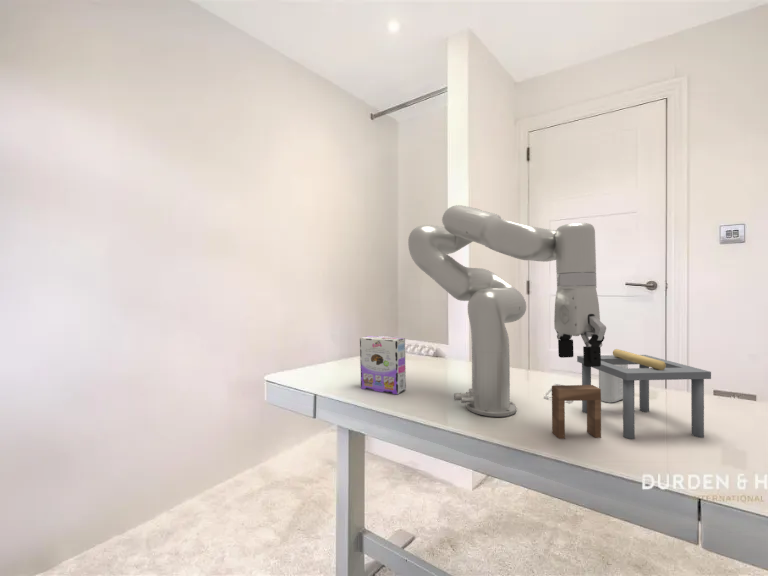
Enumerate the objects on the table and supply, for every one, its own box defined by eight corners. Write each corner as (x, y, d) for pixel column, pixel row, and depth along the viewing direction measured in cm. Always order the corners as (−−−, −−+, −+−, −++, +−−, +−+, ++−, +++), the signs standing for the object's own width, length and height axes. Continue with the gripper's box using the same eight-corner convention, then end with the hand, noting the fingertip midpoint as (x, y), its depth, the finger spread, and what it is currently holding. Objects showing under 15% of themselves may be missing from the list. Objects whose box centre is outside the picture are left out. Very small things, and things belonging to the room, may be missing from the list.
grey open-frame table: (711, 438, 74) (711, 362, 74) (626, 440, 74) (626, 363, 74) (645, 408, 92) (645, 347, 92) (577, 409, 92) (577, 348, 92)
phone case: (554, 387, 113) (542, 400, 101) (554, 383, 113) (542, 395, 101) (580, 391, 109) (571, 405, 97) (580, 387, 109) (571, 400, 97)
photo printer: (613, 393, 105) (613, 352, 105) (630, 397, 101) (630, 354, 101) (596, 400, 99) (596, 356, 99) (613, 404, 95) (612, 358, 95)
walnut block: (601, 437, 75) (600, 388, 75) (559, 438, 75) (558, 389, 75) (592, 431, 78) (592, 384, 78) (552, 432, 78) (551, 385, 78)
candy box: (406, 390, 110) (406, 337, 110) (397, 395, 105) (396, 340, 105) (370, 384, 118) (369, 334, 118) (359, 388, 113) (359, 337, 113)
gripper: (540, 283, 85) (542, 354, 84) (582, 281, 67) (585, 371, 67) (571, 282, 85) (573, 353, 85) (621, 280, 68) (623, 370, 67)
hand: (578, 361), depth 76 cm, fingers open, 9 cm apart
